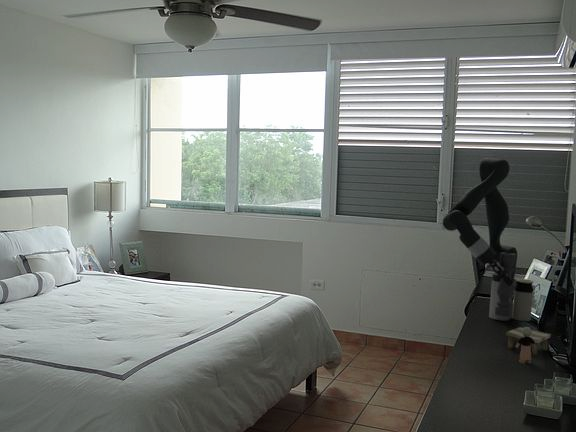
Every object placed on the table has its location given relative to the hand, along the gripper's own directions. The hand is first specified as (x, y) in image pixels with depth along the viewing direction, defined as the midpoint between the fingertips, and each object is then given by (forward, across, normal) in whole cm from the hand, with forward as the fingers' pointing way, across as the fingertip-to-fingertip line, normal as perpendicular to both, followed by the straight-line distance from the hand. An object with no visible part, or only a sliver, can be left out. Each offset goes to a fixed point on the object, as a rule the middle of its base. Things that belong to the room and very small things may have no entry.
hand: (510, 283), depth 244 cm
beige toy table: (+20, -14, +11) cm, 27 cm away
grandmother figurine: (+18, -32, +13) cm, 39 cm away
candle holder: (+8, 0, +11) cm, 13 cm away
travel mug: (+23, +34, +9) cm, 42 cm away
